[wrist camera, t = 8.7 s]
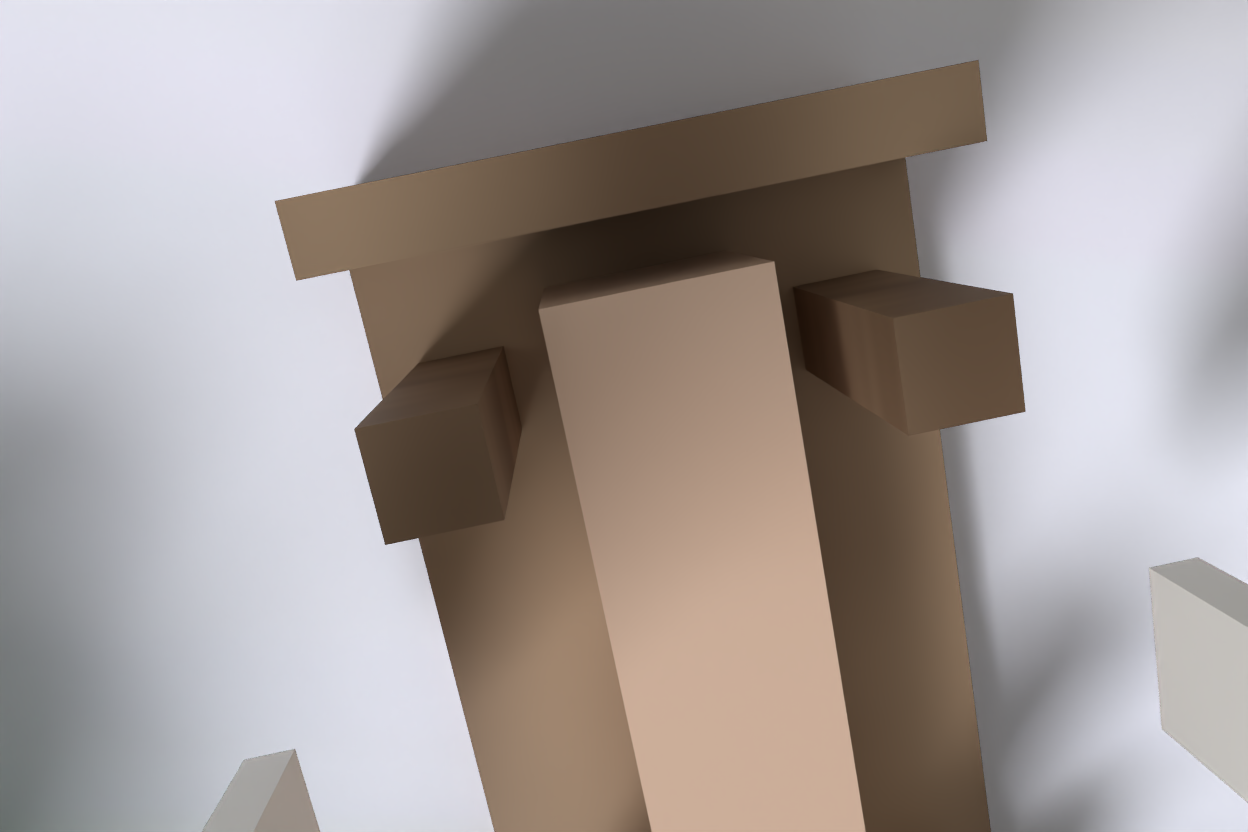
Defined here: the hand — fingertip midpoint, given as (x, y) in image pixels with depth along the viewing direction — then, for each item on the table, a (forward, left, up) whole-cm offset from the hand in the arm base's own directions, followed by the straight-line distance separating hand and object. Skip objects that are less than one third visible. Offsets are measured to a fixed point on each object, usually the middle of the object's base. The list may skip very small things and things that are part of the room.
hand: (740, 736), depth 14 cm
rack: (0, 0, -4) cm, 4 cm away
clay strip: (0, 0, -2) cm, 3 cm away
